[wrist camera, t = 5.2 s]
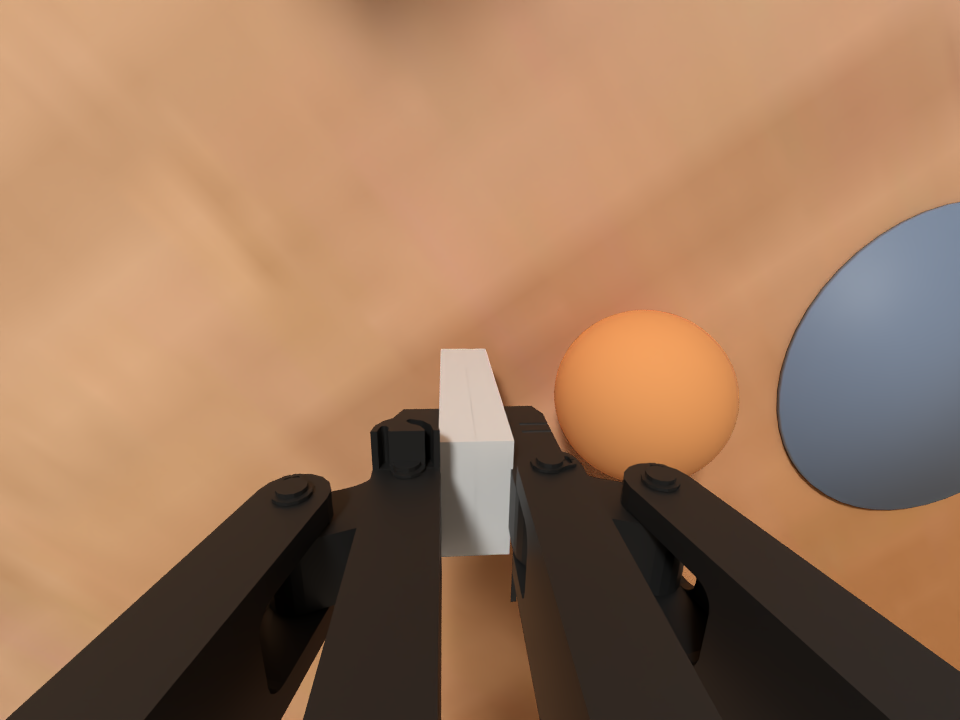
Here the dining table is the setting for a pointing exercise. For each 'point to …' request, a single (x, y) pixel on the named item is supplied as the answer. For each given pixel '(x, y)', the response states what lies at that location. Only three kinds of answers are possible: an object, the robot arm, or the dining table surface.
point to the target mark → (881, 371)
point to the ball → (646, 393)
